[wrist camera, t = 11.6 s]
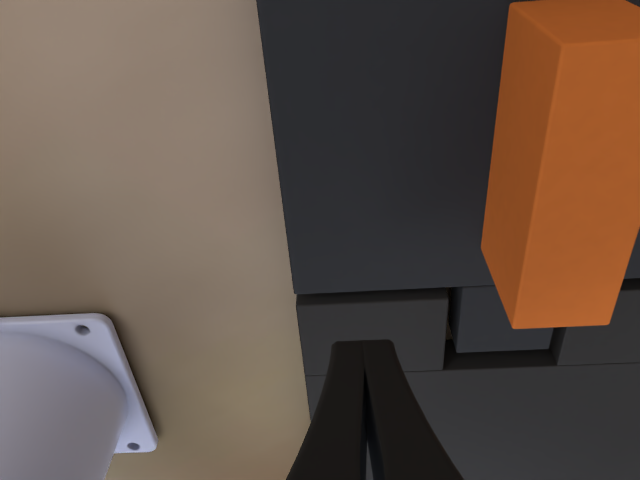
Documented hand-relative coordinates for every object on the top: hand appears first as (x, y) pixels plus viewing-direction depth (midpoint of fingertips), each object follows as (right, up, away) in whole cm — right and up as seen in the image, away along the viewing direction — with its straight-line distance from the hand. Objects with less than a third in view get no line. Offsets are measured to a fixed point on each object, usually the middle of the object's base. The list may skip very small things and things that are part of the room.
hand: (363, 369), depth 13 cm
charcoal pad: (+5, +5, +4) cm, 8 cm away
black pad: (+6, -4, +10) cm, 12 cm away
